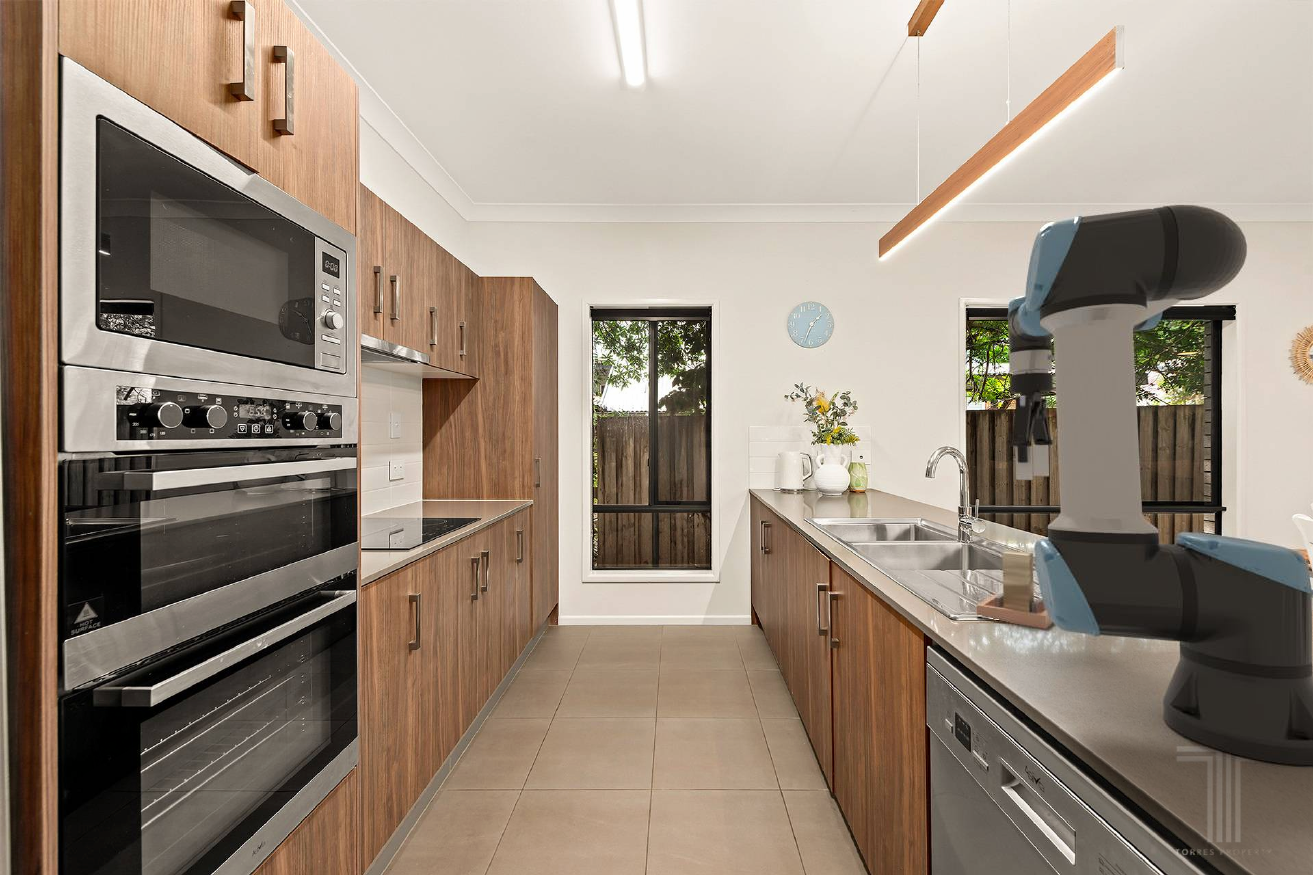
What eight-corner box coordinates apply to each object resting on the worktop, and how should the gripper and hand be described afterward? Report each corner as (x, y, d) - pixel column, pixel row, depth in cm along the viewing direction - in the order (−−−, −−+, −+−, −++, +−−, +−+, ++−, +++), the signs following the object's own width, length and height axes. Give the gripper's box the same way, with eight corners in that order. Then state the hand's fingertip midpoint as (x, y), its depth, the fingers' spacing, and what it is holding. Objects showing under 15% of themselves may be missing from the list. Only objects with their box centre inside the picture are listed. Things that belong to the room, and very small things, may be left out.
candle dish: (1045, 628, 118) (1045, 609, 118) (976, 617, 126) (976, 599, 126) (1061, 615, 127) (1061, 597, 127) (996, 605, 135) (995, 588, 135)
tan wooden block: (1029, 617, 124) (1027, 555, 124) (1003, 613, 127) (1002, 552, 127) (1034, 613, 126) (1032, 552, 126) (1009, 609, 129) (1007, 550, 129)
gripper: (1036, 367, 118) (1039, 481, 118) (1065, 375, 136) (1067, 474, 136) (992, 370, 123) (994, 480, 123) (1026, 378, 141) (1028, 474, 141)
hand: (1033, 477), depth 129 cm, fingers open, 13 cm apart
